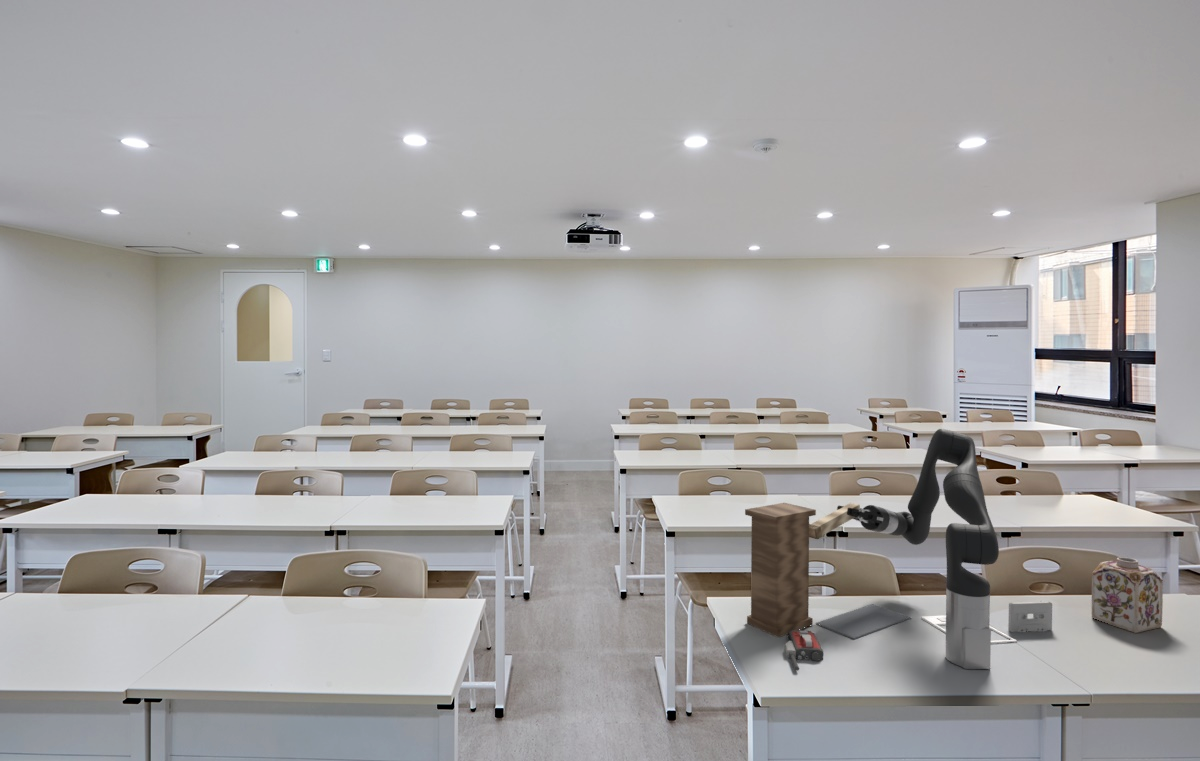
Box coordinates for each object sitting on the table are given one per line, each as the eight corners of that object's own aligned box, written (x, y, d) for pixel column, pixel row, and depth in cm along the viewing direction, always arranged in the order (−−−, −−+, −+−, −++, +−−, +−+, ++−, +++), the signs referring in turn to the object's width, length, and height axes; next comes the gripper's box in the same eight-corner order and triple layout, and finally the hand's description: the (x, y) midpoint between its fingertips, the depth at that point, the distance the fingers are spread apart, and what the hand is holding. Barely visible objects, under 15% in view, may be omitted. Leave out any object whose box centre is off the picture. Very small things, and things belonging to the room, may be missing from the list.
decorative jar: (1163, 628, 177) (1165, 562, 176) (1137, 634, 172) (1138, 567, 172) (1115, 612, 188) (1116, 551, 187) (1089, 618, 183) (1090, 555, 183)
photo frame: (967, 613, 185) (1016, 639, 167) (967, 617, 185) (1016, 644, 167) (921, 615, 183) (965, 642, 165) (921, 619, 183) (965, 647, 165)
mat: (853, 639, 169) (854, 638, 169) (816, 624, 179) (816, 622, 179) (910, 618, 183) (910, 616, 183) (872, 605, 193) (872, 603, 193)
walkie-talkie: (779, 638, 170) (792, 674, 151) (779, 622, 170) (792, 656, 150) (813, 640, 169) (831, 677, 149) (814, 624, 169) (831, 658, 149)
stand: (775, 637, 170) (776, 517, 169) (744, 624, 179) (745, 509, 178) (814, 624, 179) (815, 509, 178) (783, 612, 188) (784, 502, 187)
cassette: (1048, 628, 176) (1048, 600, 176) (1053, 631, 174) (1054, 603, 174) (1006, 630, 175) (1007, 602, 175) (1011, 632, 174) (1012, 604, 173)
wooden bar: (817, 539, 180) (815, 529, 179) (806, 536, 183) (804, 526, 183) (862, 514, 190) (860, 504, 189) (850, 511, 193) (849, 502, 193)
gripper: (861, 503, 203) (825, 493, 195) (902, 511, 191) (866, 501, 183) (857, 527, 202) (821, 518, 194) (898, 536, 190) (861, 527, 182)
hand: (843, 510), depth 188 cm, fingers closed on wooden bar, 3 cm apart
